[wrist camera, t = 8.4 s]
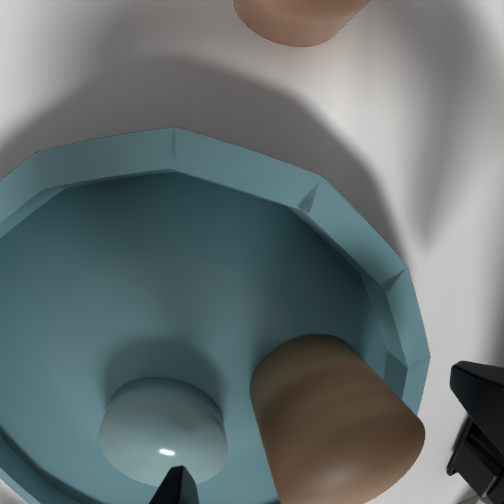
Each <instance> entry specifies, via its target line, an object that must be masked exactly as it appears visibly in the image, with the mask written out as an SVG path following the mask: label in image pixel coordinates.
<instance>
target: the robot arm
mask: <svg viewBox="0 0 504 504" xmlns="http://www.w3.org/2000/svg"><path fill="white" fill-rule="evenodd" d="M450 388H451V390H452V391H453V393H454V394H455V396H456V397H457V398H458V400H459V401H460V403H461V404H462V406H463V407H464V408H465V410H466V411H467V413H468V414H469V416H470V418H469V421H468V423H467V426H466V428H465V431H464V433H463V436H462V438H461V441H460V443H459V445H458V448H457V450H456V452H455V454H454V456H453V459H452V461H451V463H450V465H449V467H448V469H447V471H446V473H447V474H448V475H449V476H452V475H454V474H455V473H457V472H458V473H459V474H460V475H461V476H462V477H463V478H464V479H465V481H466V482H467V483H468V484H469V485H470V486H471V487H472V488H473V490H474V491H475V492H476V493H477V494H478V495H479V496H480V497H481V498H485V497H487V498H488V499H489V501H490V502H491V503H492V504H504V368H503V367H497V366H491V365H485V364H479V363H474V362H468V361H459V362H458V363H456V364H454V365H453V366H452V368H451V375H450ZM149 504H200V503H199V497H198V492H197V487H196V483H195V481H194V479H193V477H192V476H191V474H190V473H189V471H188V470H187V468H186V467H185V466H183V465H180V466H174V467H171V468H170V469H169V471H168V473H167V474H166V476H165V478H164V479H163V481H162V483H161V484H160V486H159V487H158V489H157V491H156V492H155V494H154V496H153V497H152V499H151V500H150V502H149Z"/></svg>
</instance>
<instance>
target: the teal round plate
mask: <svg viewBox="0 0 504 504" xmlns="http://www.w3.org/2000/svg"><path fill="white" fill-rule="evenodd" d="M319 333H321V334H329V335H334V336H336V337H339V338H341V339H343V340H344V341H346V342H347V343H348V344H350V345H351V346H352V347H353V349H354V350H355V351H356V352H357V353H358V354H359V355H360V356H361V357H362V358H363V359H364V360H365V361H366V362H367V363H368V364H369V366H370V367H371V368H372V369H373V370H374V371H375V372H376V373H377V374H378V375H379V376H380V377H381V378H382V379H383V380H384V382H385V383H386V384H387V385H388V386H389V387H390V388H391V389H392V390H393V391H394V392H395V393H396V394H397V395H398V397H399V398H400V399H401V400H402V401H403V402H404V403H405V404H406V405H407V406H408V407H409V408H410V409H411V410H412V412H413V413H414V414H415V415H416V416H417V414H418V410H419V406H420V402H421V398H422V394H423V390H424V385H425V381H426V376H427V371H428V366H429V361H430V352H429V347H428V343H427V338H426V334H425V329H424V325H423V321H422V317H421V313H420V309H419V305H418V301H417V297H416V294H415V290H414V286H413V283H412V279H411V276H410V273H409V269H408V267H407V265H406V264H405V263H404V262H403V260H402V259H401V258H400V257H399V256H398V255H397V254H396V253H395V251H394V250H393V249H392V248H391V247H390V246H389V245H388V244H387V243H386V241H385V240H384V239H383V238H382V237H381V236H380V235H379V234H378V233H377V232H376V231H375V229H374V228H373V227H372V226H371V225H370V224H369V223H368V222H367V221H366V220H365V219H364V218H363V217H362V216H361V215H360V214H359V213H358V212H357V211H356V210H355V208H354V207H353V206H352V205H351V204H350V203H349V202H348V201H347V200H346V199H345V198H344V197H343V196H342V195H341V194H340V193H339V192H338V191H337V190H336V189H335V188H334V187H333V186H332V185H331V184H330V183H329V182H328V181H326V180H325V179H324V178H323V177H322V176H320V175H318V174H315V173H313V172H310V171H308V170H305V169H302V168H300V167H297V166H294V165H292V164H289V163H286V162H283V161H281V160H278V159H275V158H272V157H269V156H266V155H264V154H261V153H258V152H255V151H252V150H249V149H246V148H243V147H240V146H237V145H234V144H231V143H227V142H224V141H221V140H218V139H215V138H211V137H208V136H205V135H202V134H198V133H195V132H191V131H188V130H184V129H181V128H177V127H170V128H162V129H154V130H147V131H140V132H133V133H127V134H120V135H115V136H109V137H103V138H98V139H93V140H88V141H83V142H78V143H73V144H69V145H64V146H60V147H55V148H51V149H47V150H43V151H39V152H35V153H34V154H33V155H31V156H30V157H29V158H28V159H26V160H25V161H24V162H23V163H21V164H20V165H19V166H18V167H17V168H15V169H14V170H13V171H12V172H11V173H10V174H8V175H7V176H6V177H5V178H4V179H3V180H2V181H1V182H0V478H1V479H2V480H3V481H4V482H5V483H6V484H7V485H8V486H9V487H10V488H12V489H13V490H14V491H15V492H16V493H17V494H18V495H20V496H21V497H22V498H23V499H24V500H26V501H27V502H28V503H29V504H149V502H150V500H151V499H152V497H153V496H154V494H155V492H156V491H157V489H158V487H159V486H160V484H161V483H162V481H163V479H164V478H165V476H166V474H167V473H168V471H169V469H170V468H171V467H174V466H180V465H183V466H185V467H186V468H187V470H188V471H189V473H190V474H191V476H192V477H193V479H194V481H195V483H196V487H197V492H198V497H199V503H200V504H281V502H280V501H279V498H278V495H277V492H276V488H275V485H274V482H273V478H272V475H271V471H270V468H269V464H268V461H267V458H266V454H265V450H264V447H263V443H262V440H261V436H260V433H259V429H258V425H257V422H256V418H255V414H254V411H253V407H252V403H251V399H250V383H251V379H252V376H253V374H254V372H255V370H256V368H257V367H258V365H259V364H260V362H261V361H262V360H263V359H264V358H265V357H266V356H267V355H268V354H269V353H270V352H271V351H272V350H273V349H275V348H276V347H278V346H279V345H281V344H282V343H284V342H286V341H288V340H291V339H293V338H296V337H299V336H303V335H308V334H319Z"/></svg>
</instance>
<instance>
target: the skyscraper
mask: <svg viewBox="0 0 504 504" xmlns="http://www.w3.org/2000/svg"><path fill="white" fill-rule="evenodd" d="M480 503H481V504H492V503H491V502H490V501H489V499H488V498H487V497H485V498H481V497H480V496H479V495H477V496H475V497H472V498H470V499H468V500H466V501H463V502H461V503H459V504H480Z"/></svg>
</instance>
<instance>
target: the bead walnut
mask: <svg viewBox="0 0 504 504" xmlns="http://www.w3.org/2000/svg"><path fill="white" fill-rule="evenodd" d="M250 399H251V403H252V407H253V411H254V414H255V418H256V422H257V425H258V429H259V433H260V436H261V440H262V443H263V447H264V450H265V454H266V458H267V461H268V464H269V468H270V471H271V475H272V478H273V482H274V485H275V488H276V492H277V495H278V498H279V501H280V502H281V504H364V503H366V502H368V501H370V500H372V499H373V498H375V497H377V496H378V495H380V494H382V493H383V492H385V491H386V490H387V489H389V488H390V487H391V486H393V485H394V484H395V483H396V482H397V481H398V480H400V479H401V478H402V477H403V476H404V475H405V474H406V472H407V471H408V470H409V469H410V468H411V466H412V465H413V464H414V462H415V461H416V459H417V458H418V456H419V454H420V452H421V450H422V447H423V445H424V440H425V428H424V425H423V423H422V422H421V420H420V419H419V418H418V417H417V416H416V415H415V414H414V413H413V412H412V410H411V409H410V408H409V407H408V406H407V405H406V404H405V403H404V402H403V401H402V400H401V399H400V398H399V397H398V395H397V394H396V393H395V392H394V391H393V390H392V389H391V388H390V387H389V386H388V385H387V384H386V383H385V382H384V380H383V379H382V378H381V377H380V376H379V375H378V374H377V373H376V372H375V371H374V370H373V369H372V368H371V367H370V366H369V364H368V363H367V362H366V361H365V360H364V359H363V358H362V357H361V356H360V355H359V354H358V353H357V352H356V351H355V350H354V349H353V347H352V346H351V345H350V344H348V343H347V342H346V341H344V340H343V339H341V338H339V337H336V336H334V335H329V334H321V333H319V334H308V335H303V336H299V337H296V338H293V339H291V340H288V341H286V342H284V343H282V344H281V345H279V346H278V347H276V348H275V349H273V350H272V351H271V352H270V353H269V354H268V355H267V356H266V357H265V358H264V359H263V360H262V361H261V362H260V364H259V365H258V367H257V368H256V370H255V372H254V374H253V376H252V379H251V383H250Z"/></svg>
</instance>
